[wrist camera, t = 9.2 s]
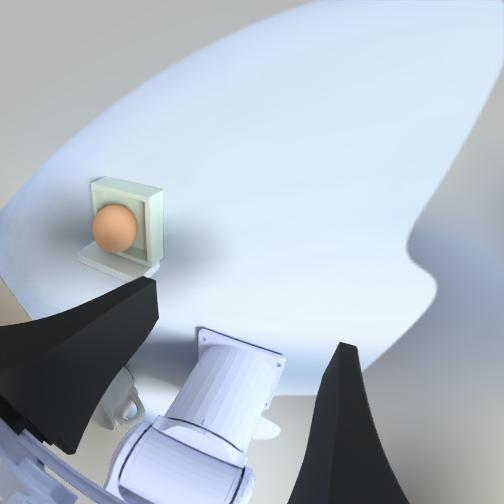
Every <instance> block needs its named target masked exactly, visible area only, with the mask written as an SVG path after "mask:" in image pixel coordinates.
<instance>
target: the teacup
mask: <svg viewBox="0 0 504 504" xmlns="http://www.w3.org/2000/svg"><path fill="white" fill-rule="evenodd" d="M134 403H135V405H136V407H137V414H136V415H135V416H134V417H133V418H131V419H128V420H126V419H124V417H125V416H126V415H127V413H128V412H129V411H130V409H131V408H132V406H133V404H134ZM144 419H145V409H144V406H143V404H142V402H141V400H140V399H139V397H138V391H137V389H136V388H135V387H134V382H133V378H132V376H131V374H130V373H129V371H128V370H127V369H126V367H125V366H124V367H123V368H122V369H121V370H120V371H119V373H118V374H117V375H116V377H115V378H114V379H113V381H112V382H111V384H110V385H109V387H108V389H107V390H106V392H105V393H104V395H103V397H102V398H101V400H100V402H99V404H98V405H97V407H96V409H95V411H94V413H93V415H92V417H91V419H90V421H91V422H92V423H94V424H95V425H97V426H98V427H100V428H102V429H104V430H106V431H109V432H114V431H116V429H117V426H118V425H119V424H120V425H121V426H122V427H124V428H127V429H131V428H132V427H133V426H134V425H135V424H137V423H141V422H143V421H144Z"/></svg>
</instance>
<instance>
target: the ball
mask: <svg viewBox="0 0 504 504" xmlns="http://www.w3.org/2000/svg"><path fill="white" fill-rule="evenodd" d="M92 234H93V237H94V240H95V242H96V243H97V244H98V246H99V247H101V248H102V249H103V250H105V251H108V252H112V253H118V252H122V251H124V250H126V249H128V248H129V247H130V246H131V245H132V244H133V243H134V241H135V239H136V237H137V234H138V222H137V219H136V217H135V215H134V213H133V212H132V211H131V210H130V209H129V208H127V207H125V206H123V205H119V204H112V205H108V206H106V207H104V208H102V209H101V210H100V211H99V212H98V213H97V214H96V216H95V218H94V220H93V224H92Z"/></svg>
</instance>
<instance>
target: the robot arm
mask: <svg viewBox="0 0 504 504" xmlns="http://www.w3.org/2000/svg"><path fill="white" fill-rule="evenodd" d="M158 318H159V314H158V303H157V291H156V280H153V279H150V278H148V277H145V276H141V277H139V278H137V279H135V280H133V281H130V282H128V283H126V284H124V285H122V286H120V287H118V288H116V289H114V290H112V291H110V292H108V293H106V294H104V295H102V296H100V297H98V298H95V299H93V300H91V301H88V302H86V303H84V304H82V305H79V306H77V307H75V308H72V309H70V310H67V311H64V312H61V313H58V314H55V315H52V316H49V317H45V318H42V319H38V320H34V321H30V322H26V323H20V324H14V325H8V326H0V498H1V500H0V504H74V503H75V501H76V500H77V498H78V496H77V495H76V494H74V493H73V492H72V491H71V490H69V489H68V488H67V487H66V486H64V485H63V484H62V483H60V482H59V481H58V480H56V479H55V478H53V477H52V476H51V475H49V474H48V473H47V472H45V469H44V464H45V465H46V466H47V467H48V468H50V469H51V470H52V471H53V472H55V473H56V474H57V475H58V476H60V477H61V478H62V479H64V480H65V481H66V482H68V483H69V484H70V485H72V486H73V487H74V488H76V489H77V490H79V491H80V492H81V493H83V494H84V495H86V496H87V497H89V498H90V499H92V500H93V501H95V502H96V503H98V504H247V503H248V501H249V499H250V496H251V493H252V491H253V487H254V483H255V476H254V474H253V471H252V469H251V468H250V467H248V466H245V463H246V461H247V458H248V455H246V454H245V453H246V451H247V448H248V446H249V444H250V441H251V439H252V436H253V434H254V431H255V429H256V426H257V424H258V421H259V419H260V416H261V414H262V411H263V410H268V408H269V405H270V403H271V400H272V397H273V395H274V392H275V389H276V387H277V384H278V381H279V378H280V376H281V373H282V370H283V367H284V365H285V362H286V358H285V357H284V356H282V355H279V354H276V353H273V352H270V351H267V350H264V349H261V348H258V347H255V346H252V345H249V344H246V343H243V342H240V341H237V340H234V339H231V338H229V337H226V336H223V335H220V334H218V333H215V332H212V331H209V330H207V329H200V331H199V334H198V362H197V364H196V366H195V367H194V369H193V370H192V372H191V374H190V375H189V377H188V379H187V380H186V382H185V383H184V385H183V387H182V388H181V390H180V392H179V393H178V395H177V396H176V398H175V400H174V401H173V403H172V404H171V406H170V408H169V409H168V411H167V412H166V414H165V416H164V417H163V416H161V415H158V417H157V418H156V420H155V421H154V423H152V422H150V421H143V422H141V423H137V424H135V425H134V426H133V427H132V428H131V429H130V430H129V431H128V432H127V433H126V434H125V436H124V437H123V439H122V440H121V442H120V443H119V445H118V447H117V448H116V450H115V452H114V454H113V457H112V459H111V462H110V466H109V473H108V476H107V479H106V482H105V484H104V487H103V488H102V487H100V486H98V485H97V484H95V483H94V482H92V481H91V480H89V479H88V478H86V477H85V476H84V475H82V474H81V473H79V472H78V471H77V470H75V469H74V468H72V467H71V466H70V465H68V464H67V463H66V462H64V461H63V460H62V459H60V458H59V457H58V456H57V455H55V454H54V453H53V452H51V451H50V450H49V449H48V448H47V447H46V446H44V445H43V444H42V443H43V441H45V442H47V443H48V444H49V445H52V444H54V445H55V446H57V447H58V448H59V449H61V450H62V451H63V452H64V453H66V454H68V455H70V454H75V452H76V449H77V447H78V445H79V442H80V440H81V438H82V435H83V433H84V431H85V428H86V427H87V425H88V423H89V421H90V419H91V417H92V415H93V413H94V411H95V409H96V407H97V405H98V404H99V402H100V400H101V398H102V397H103V395H104V393H105V392H106V390H107V389H108V387H109V385H110V384H111V382H112V381H113V379H114V378H115V377H116V375H117V374H118V373H119V371H120V370H121V369H122V368H123V367H124V365H125V364H126V363H127V362H128V360H129V359H130V358H131V357H132V355H133V354H134V353H135V352H136V351H137V349H138V348H139V347H140V346H141V344H142V343H143V342H144V341H145V339H146V338H147V337H148V335H149V333H150V332H151V330H152V329H153V327H154V325H155V323H156V322H157V320H158ZM278 363H279V364H278ZM43 463H44V464H43ZM287 504H410V503H409V501H408V500H407V498H406V496H405V495H404V493H403V491H402V489H401V487H400V485H399V483H398V481H397V479H396V477H395V475H394V473H393V471H392V469H391V467H390V465H389V463H388V460H387V457H386V455H385V452H384V450H383V448H382V445H381V442H380V439H379V437H378V434H377V431H376V428H375V425H374V421H373V418H372V415H371V411H370V407H369V404H368V399H367V395H366V391H365V387H364V383H363V378H362V373H361V367H360V362H359V356H358V349H357V347H356V346H353V345H350V344H346V343H343V342H339V345H338V347H337V349H336V351H335V353H334V355H333V357H332V359H331V361H330V363H329V365H328V367H327V368H326V370H325V372H324V374H323V377H322V380H321V384H320V387H319V391H318V394H317V398H316V402H315V408H314V413H313V418H312V424H311V429H310V435H309V439H308V444H307V449H306V453H305V456H304V460H303V463H302V466H301V469H300V472H299V475H298V478H297V480H296V483H295V486H294V488H293V491H292V493H291V496H290V499H289V501H288V503H287Z"/></svg>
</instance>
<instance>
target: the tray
mask: <svg viewBox="0 0 504 504" xmlns="http://www.w3.org/2000/svg"><path fill="white" fill-rule="evenodd" d="M91 192H92V203H93V212H94V218H95V216H96V214H97V213H98V212H99V211H100V210H101V209H102V208H104V207H106V206H108V205H112V204H119V205H123V206H125V207H127V208H129V209H130V210H131V211H132V212H133V213H134V215H135V217H136V219H137V222H138V234H137V237H136V239H135V241H134V243H133V244H132V245H131V246H130V247H129V248H128V249H126V250H124V251H122V252H118V253H114V254H117V255H119V256H122V257H125V258H127V259H130V260H133V261H135V262H138V263H141V264H143V265H146V266H149V267H151V268H152V267H154V266H155V265H156V264H157V263H158V262H159V261H160V260H161V259H162V258H163V257H164V250H163V189H159V188H155V187H150V186H146V185H142V184H137V183H133V182H128V181H124V180H119V179H115V178H110V177H106V176H105V177H103V178H101V179H99V180H97V181H94V182H92V183H91ZM98 247H99V246H98ZM99 248H101V247H99ZM101 249H102V248H101Z"/></svg>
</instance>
